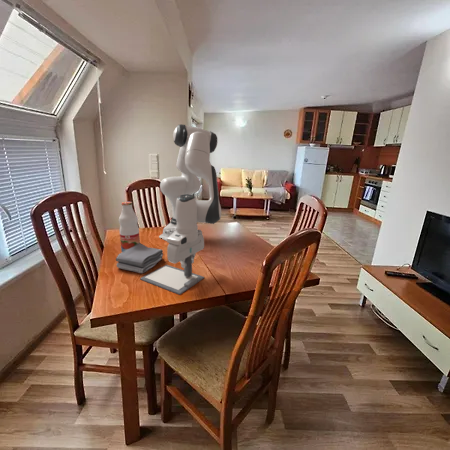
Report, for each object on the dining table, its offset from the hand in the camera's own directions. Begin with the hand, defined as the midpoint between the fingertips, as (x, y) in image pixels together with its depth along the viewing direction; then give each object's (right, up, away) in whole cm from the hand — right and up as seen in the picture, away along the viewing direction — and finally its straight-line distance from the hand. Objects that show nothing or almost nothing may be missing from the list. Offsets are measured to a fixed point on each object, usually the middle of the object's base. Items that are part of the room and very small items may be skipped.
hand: (187, 265), depth 106 cm
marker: (0, -4, +1) cm, 5 cm away
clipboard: (-7, -6, +1) cm, 9 cm away
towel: (-24, -2, +14) cm, 28 cm away
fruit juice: (-34, +1, +25) cm, 42 cm away
